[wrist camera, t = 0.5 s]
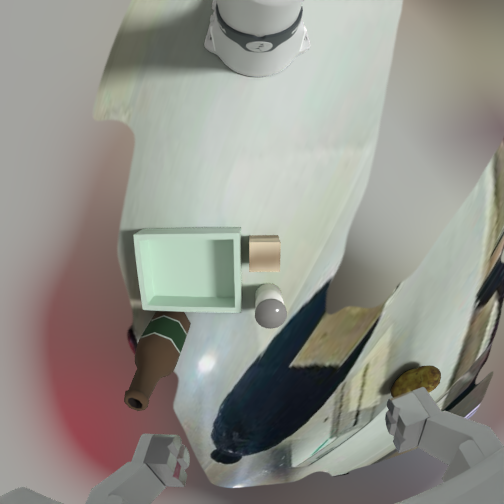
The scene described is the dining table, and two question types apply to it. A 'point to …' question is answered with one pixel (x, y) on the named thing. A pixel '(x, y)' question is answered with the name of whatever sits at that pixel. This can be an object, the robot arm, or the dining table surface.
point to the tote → (190, 269)
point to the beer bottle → (156, 355)
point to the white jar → (269, 306)
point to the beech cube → (264, 253)
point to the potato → (416, 380)
